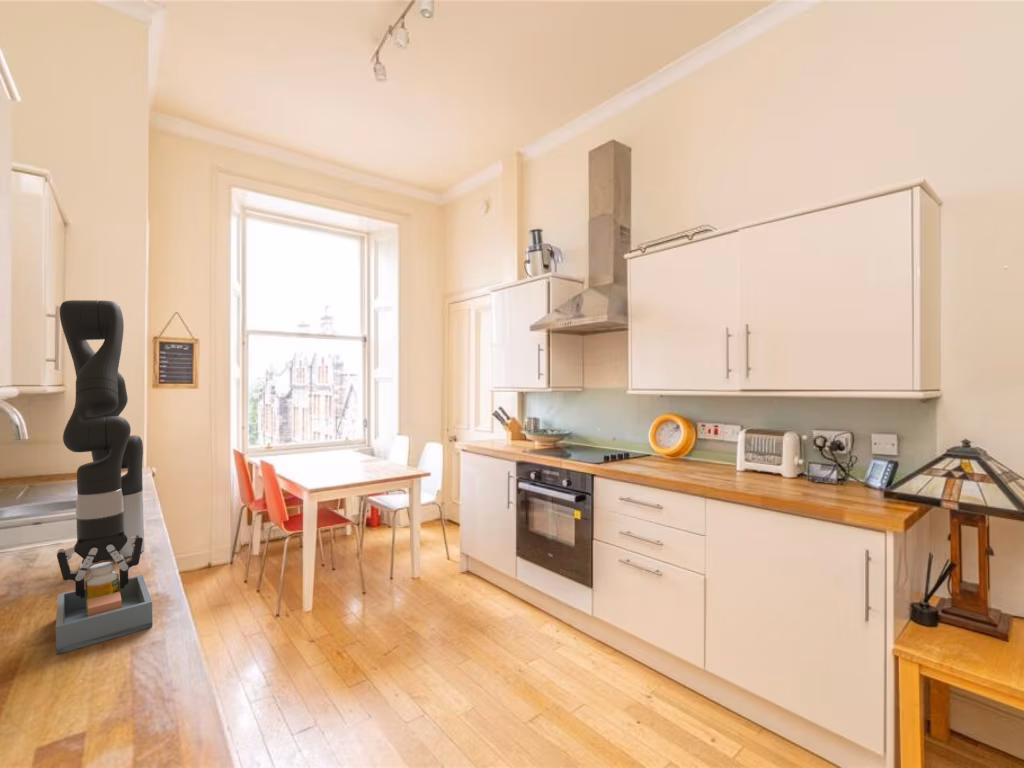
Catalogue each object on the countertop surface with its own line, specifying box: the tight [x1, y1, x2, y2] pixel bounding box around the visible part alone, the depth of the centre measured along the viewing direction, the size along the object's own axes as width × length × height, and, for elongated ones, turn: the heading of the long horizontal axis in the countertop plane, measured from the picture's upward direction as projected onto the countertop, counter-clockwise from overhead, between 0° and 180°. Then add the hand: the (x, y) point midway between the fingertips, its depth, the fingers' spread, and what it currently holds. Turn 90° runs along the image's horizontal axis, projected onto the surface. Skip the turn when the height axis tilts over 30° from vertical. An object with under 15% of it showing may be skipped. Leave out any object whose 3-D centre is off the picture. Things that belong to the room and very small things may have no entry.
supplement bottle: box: [84, 561, 120, 615], centre depth 101 cm, size 5×5×10 cm
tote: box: [55, 574, 153, 656], centre depth 98 cm, size 18×14×5 cm
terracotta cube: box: [87, 592, 122, 617], centre depth 95 cm, size 5×5×5 cm
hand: (102, 591), depth 101 cm, fingers open, 5 cm apart
